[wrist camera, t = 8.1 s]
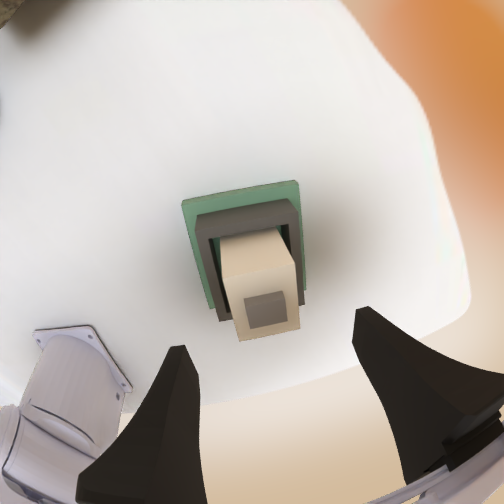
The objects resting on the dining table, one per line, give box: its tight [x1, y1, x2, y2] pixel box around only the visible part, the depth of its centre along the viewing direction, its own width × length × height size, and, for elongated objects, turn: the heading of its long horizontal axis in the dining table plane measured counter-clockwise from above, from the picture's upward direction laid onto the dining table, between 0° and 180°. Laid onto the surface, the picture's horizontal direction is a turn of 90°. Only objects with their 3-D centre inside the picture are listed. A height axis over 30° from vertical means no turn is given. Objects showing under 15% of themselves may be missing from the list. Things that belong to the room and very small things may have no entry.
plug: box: [220, 226, 300, 342], centre depth 16 cm, size 4×3×7 cm
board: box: [181, 180, 306, 322], centre depth 18 cm, size 8×7×4 cm
